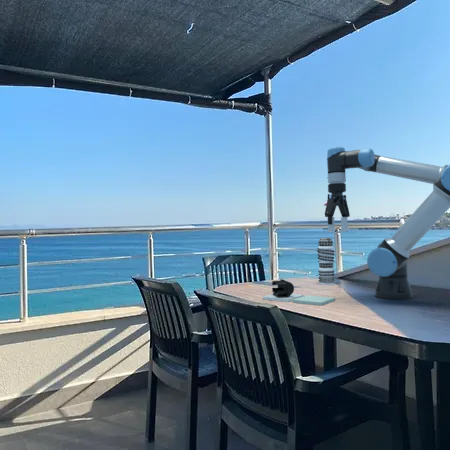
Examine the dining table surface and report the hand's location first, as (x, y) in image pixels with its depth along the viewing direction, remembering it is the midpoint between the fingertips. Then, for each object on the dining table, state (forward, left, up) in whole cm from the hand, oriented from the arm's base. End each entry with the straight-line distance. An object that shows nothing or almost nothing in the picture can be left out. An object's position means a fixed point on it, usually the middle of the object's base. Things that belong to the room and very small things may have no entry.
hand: (338, 232), depth 184 cm
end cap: (+14, -20, -28) cm, 37 cm away
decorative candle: (-39, -25, -29) cm, 55 cm away
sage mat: (+14, -6, -29) cm, 32 cm away
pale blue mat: (+14, -20, -29) cm, 38 cm away
